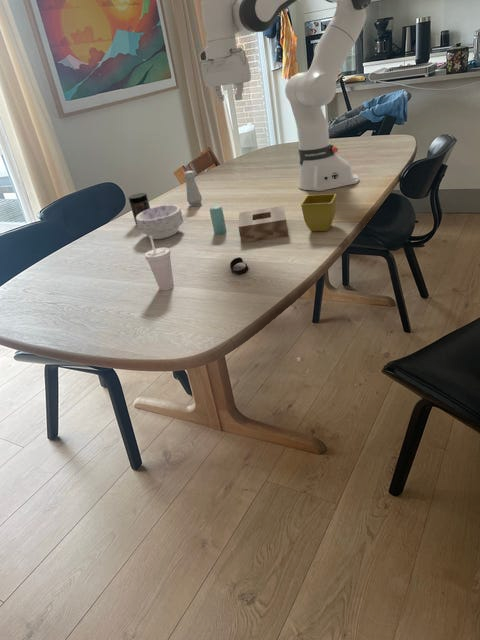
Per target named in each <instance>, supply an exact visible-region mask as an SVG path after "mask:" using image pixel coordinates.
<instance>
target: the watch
mask: <svg viewBox="0 0 480 640" xmlns="http://www.w3.org/2000/svg"><path fill="white" fill-rule="evenodd" d="M241 263H242V264H243V265H244V267H243V268H241V269H234V267H235V266H236V265H237V264H241ZM229 268H230V270H231V272H232V273H233V274H234V275H236V276H243V275H245V274H247V273H248V272H249V268H250V265H249V264H248V262H247V260H246V258H245V257H243V256H241V257H239V256H238V257H236V258H233V259H232V260H231V261H230V263H229Z"/></svg>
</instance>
